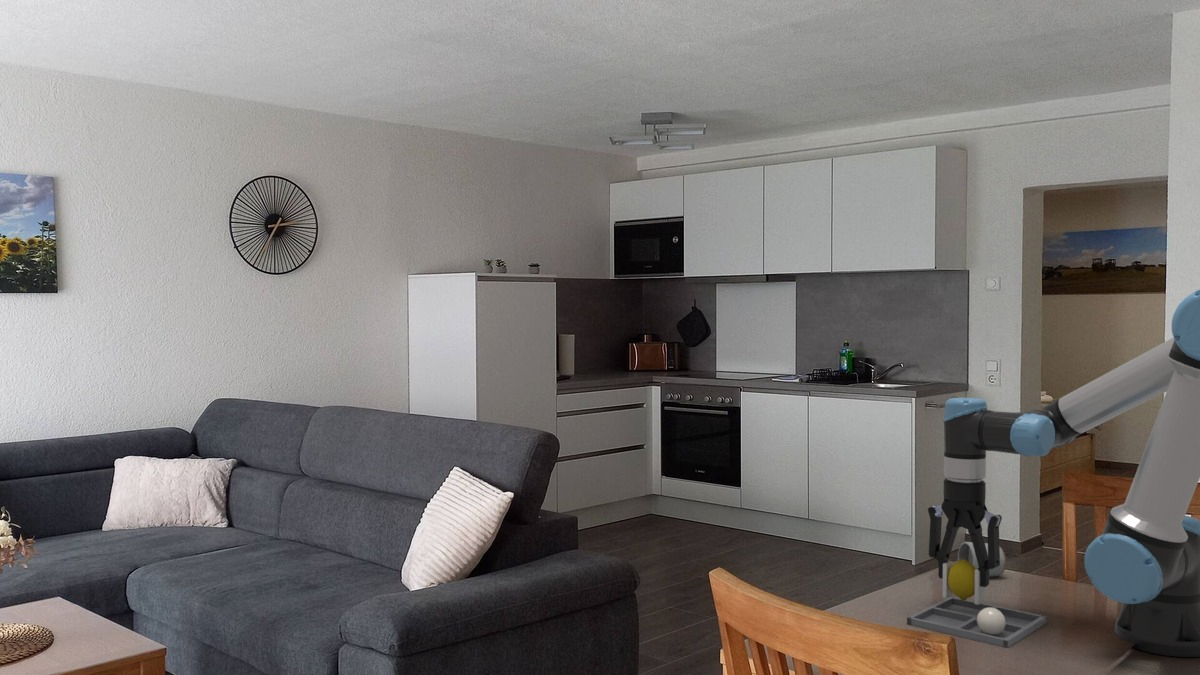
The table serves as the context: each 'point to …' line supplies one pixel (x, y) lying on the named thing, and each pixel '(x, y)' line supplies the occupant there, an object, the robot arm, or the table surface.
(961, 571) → the lemon
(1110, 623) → the table surface
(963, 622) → the compartment tray
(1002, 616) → the cream egg
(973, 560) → the ceramic mug
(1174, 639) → the robot arm
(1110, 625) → the table surface
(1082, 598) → the table surface
